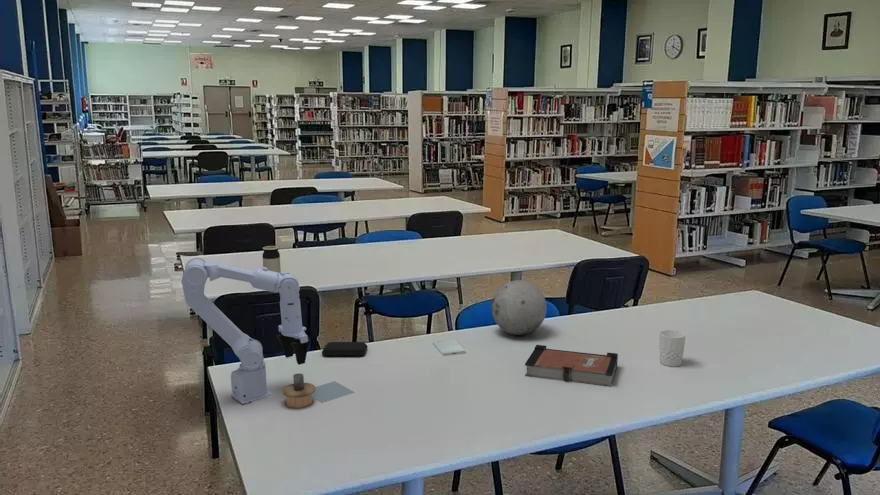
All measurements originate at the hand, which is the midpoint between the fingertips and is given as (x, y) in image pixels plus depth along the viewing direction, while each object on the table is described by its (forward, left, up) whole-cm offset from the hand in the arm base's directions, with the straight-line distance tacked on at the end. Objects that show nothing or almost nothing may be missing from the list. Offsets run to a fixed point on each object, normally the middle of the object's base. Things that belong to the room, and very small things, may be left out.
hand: (295, 360), depth 198 cm
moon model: (+87, -8, -10) cm, 88 cm away
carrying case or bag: (+29, +18, -10) cm, 35 cm away
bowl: (-4, -9, -10) cm, 14 cm away
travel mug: (+54, +122, -10) cm, 134 cm away
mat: (+6, -8, -9) cm, 14 cm away
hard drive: (+57, -3, -10) cm, 58 cm away
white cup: (+102, -61, -10) cm, 119 cm away
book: (+72, -44, -10) cm, 85 cm away
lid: (-4, -9, -6) cm, 11 cm away
